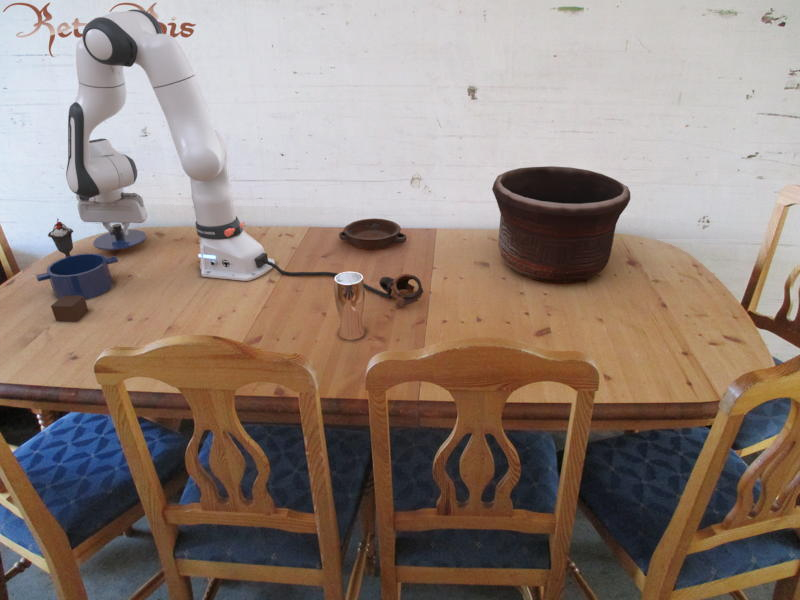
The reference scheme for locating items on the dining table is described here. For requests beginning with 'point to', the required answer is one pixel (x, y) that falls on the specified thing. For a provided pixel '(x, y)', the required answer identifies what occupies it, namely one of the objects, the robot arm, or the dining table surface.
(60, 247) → the sundae
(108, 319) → the dining table surface
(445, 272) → the dining table surface
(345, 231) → the dish
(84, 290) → the pot
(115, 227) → the lid
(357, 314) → the beer glass
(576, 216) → the ceramic pot
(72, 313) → the brownie
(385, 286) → the pottery mug
